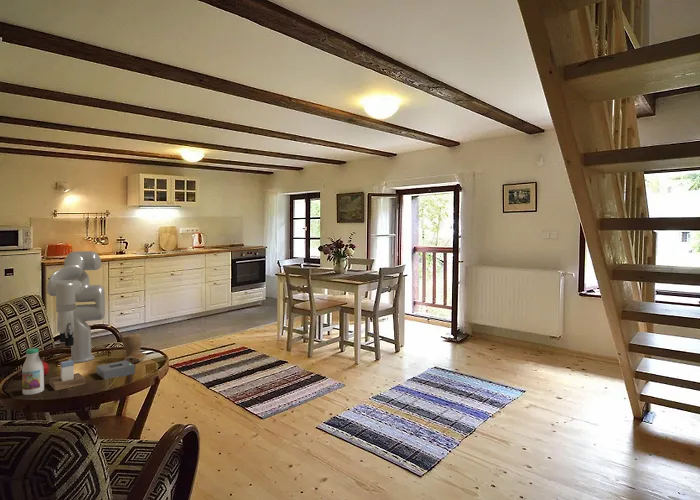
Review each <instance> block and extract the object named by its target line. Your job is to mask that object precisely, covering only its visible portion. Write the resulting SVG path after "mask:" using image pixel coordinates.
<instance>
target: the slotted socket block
mask: <svg viewBox="0 0 700 500" xmlns="http://www.w3.org/2000/svg"><path fill="white" fill-rule="evenodd" d="M86 381H87V379H86V377H85V376H83V375H82V374H80V373H79V372H77V373H74V379H71V380H66V381H62V382H61V376H57V377H53V378H49V379H48V384H49V386H51V388H52V389H53V390H54V391H60V390H64V389H69V388H72V387H73V388H74V387H77V386H82V385H85V384H87V382H86Z"/></svg>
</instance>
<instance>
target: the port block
mask: <svg viewBox="0 0 700 500" xmlns="http://www.w3.org/2000/svg"><path fill="white" fill-rule="evenodd" d="M123 360H124V359H123ZM123 360H121V361H116V362H110V363H106V364H101V365H97V366H96V374H97V375H98V376H99V377H101V378H102V379H103V380H108V379H111V378H116V377H119V378H122V377H125V376H130V375H131V376H132V375H135V374H136V366H135V365H136V364H134V363H130V362H129V361H127V360H124V361H123Z"/></svg>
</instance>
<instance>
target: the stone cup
mask: <svg viewBox="0 0 700 500" xmlns="http://www.w3.org/2000/svg"><path fill="white" fill-rule="evenodd" d="M121 341H122V345H123V347H124V351H125V352H126V355H125V357H124V359H123V360H122V361H124V360H127V361H129V362H130V363H132V364H134V363H138V362H140V361H142V360H143V358H145V357H146V355H147V353H146V352H141V347H142V346H141V345H142V337H141V334H140V333H139V332H136V333H131V334H127V335H123V336H122V338H121Z"/></svg>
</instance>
